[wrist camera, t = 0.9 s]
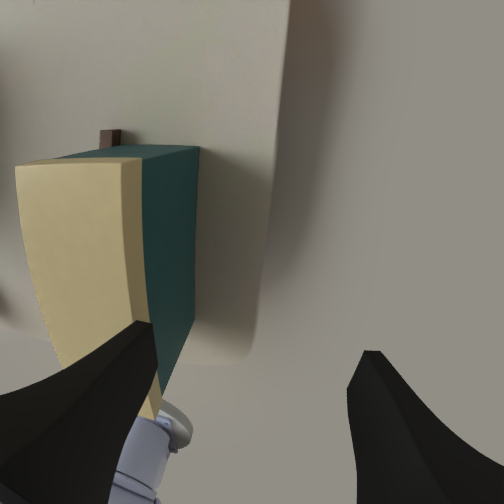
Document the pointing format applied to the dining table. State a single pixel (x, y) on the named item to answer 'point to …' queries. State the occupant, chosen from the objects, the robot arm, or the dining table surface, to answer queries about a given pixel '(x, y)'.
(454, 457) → the robot arm
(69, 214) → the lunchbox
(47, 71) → the dining table surface
